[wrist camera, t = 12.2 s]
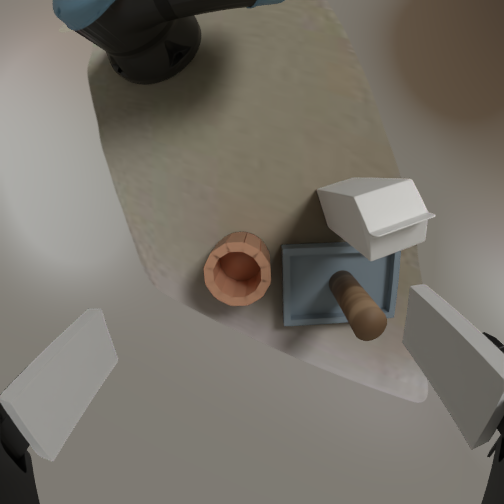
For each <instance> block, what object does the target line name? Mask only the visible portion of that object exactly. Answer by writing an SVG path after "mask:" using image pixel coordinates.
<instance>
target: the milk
mask: <svg viewBox="0 0 504 504" xmlns="http://www.w3.org/2000/svg"><path fill="white" fill-rule="evenodd" d="M316 191H317V194H318V197H319V200H320V203H321V206H322V209H323V213H324V216H325V219H326V222H327V226H328V228H330V229H331V230H332V231H333V232H335V233H336V234H337V235H339V236H340V237H341V238H342V239H344V240H345V241H346V242H347V243H349V244H350V245H351V246H352V247H354V248H355V249H356V250H357V251H359V252H360V253H361V254H362V255H363V256H365V257H366V258H367V259H368V260H370V261H374V260H377V259H379V258H382V257H385V256H387V255H390V254H393V253H395V252H398V251H401V250H403V249H406V248H409V247H411V246H414V245H416V244H419V243H421V242H424V241H425V238H426V230H427V222H428V219H430V218H433V217H435V214H432V213H429V212H428V211H427V209H426V207H425V205H424V202H423V201H422V198H421V196H420V194H419V192H418V190H417V188H416V186H415V184H414V182H413V181H412V179H400V178H350V179H347V180H344V181H340V182H337V183H334V184H331V185H328V186H325V187H321V188H318V189H316Z"/></svg>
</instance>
